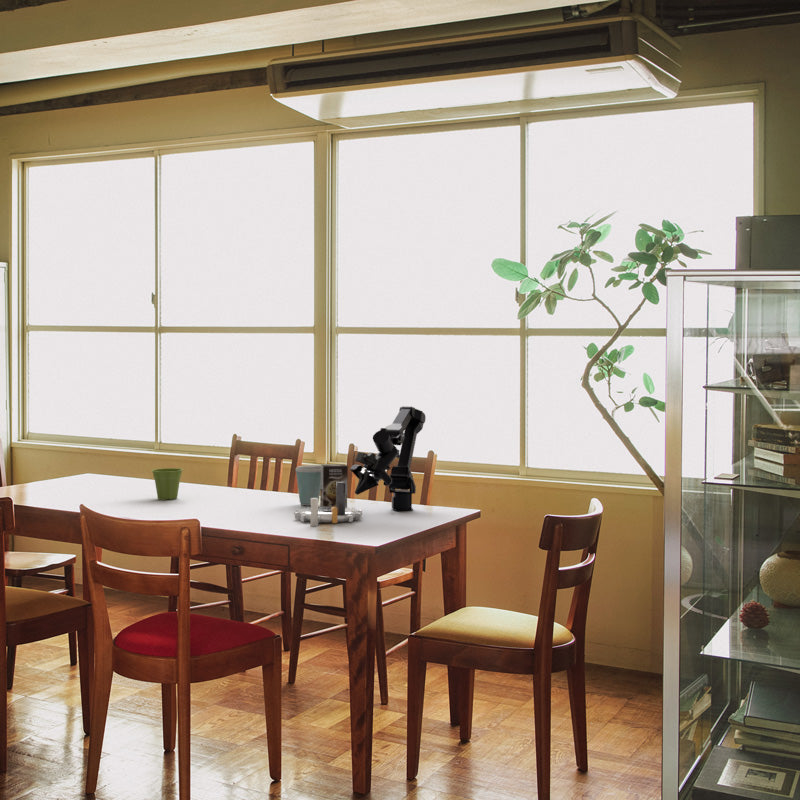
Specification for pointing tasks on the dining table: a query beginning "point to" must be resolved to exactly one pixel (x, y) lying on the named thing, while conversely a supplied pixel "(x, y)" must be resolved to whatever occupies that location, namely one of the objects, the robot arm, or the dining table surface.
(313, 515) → the pointer post
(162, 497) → the plant pot
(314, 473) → the disposable coffee cup
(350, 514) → the sprocket
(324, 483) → the coffee box
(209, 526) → the dining table surface
